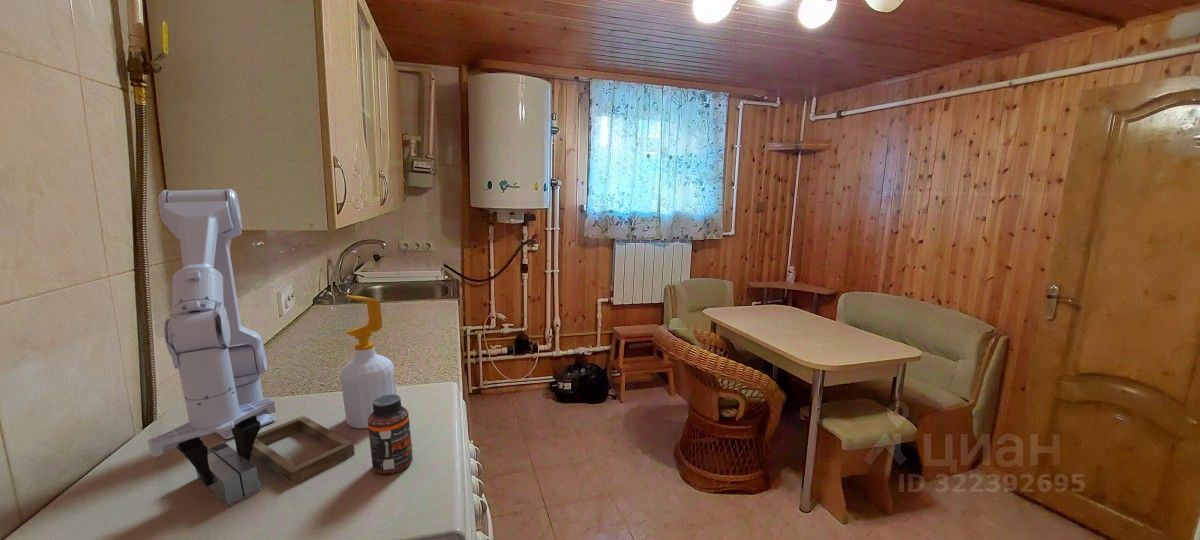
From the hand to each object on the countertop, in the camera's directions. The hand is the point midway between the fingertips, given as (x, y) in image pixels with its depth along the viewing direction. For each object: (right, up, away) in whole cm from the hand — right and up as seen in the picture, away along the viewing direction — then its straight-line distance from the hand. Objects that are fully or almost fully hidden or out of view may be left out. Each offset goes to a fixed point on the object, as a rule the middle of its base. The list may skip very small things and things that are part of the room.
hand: (226, 474), depth 70 cm
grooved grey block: (0, -2, 0) cm, 2 cm away
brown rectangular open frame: (+6, 0, +8) cm, 10 cm away
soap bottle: (+13, +2, +20) cm, 23 cm away
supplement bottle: (+23, -1, +4) cm, 24 cm away
